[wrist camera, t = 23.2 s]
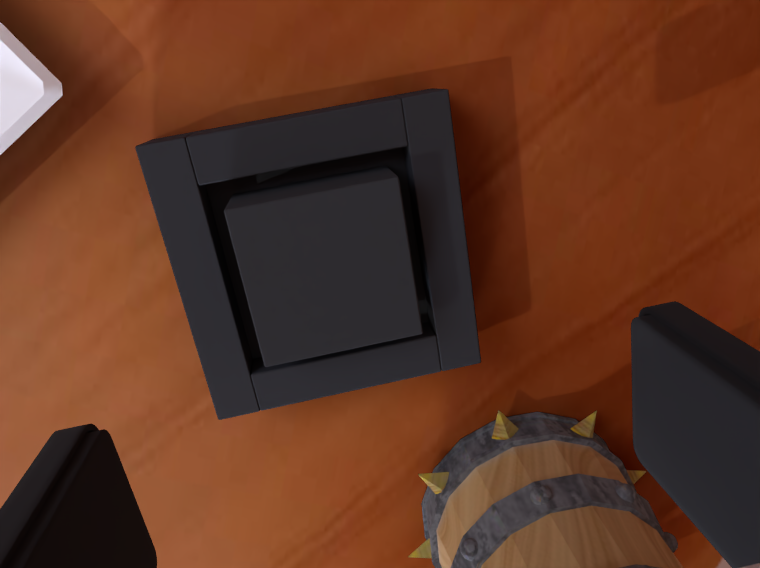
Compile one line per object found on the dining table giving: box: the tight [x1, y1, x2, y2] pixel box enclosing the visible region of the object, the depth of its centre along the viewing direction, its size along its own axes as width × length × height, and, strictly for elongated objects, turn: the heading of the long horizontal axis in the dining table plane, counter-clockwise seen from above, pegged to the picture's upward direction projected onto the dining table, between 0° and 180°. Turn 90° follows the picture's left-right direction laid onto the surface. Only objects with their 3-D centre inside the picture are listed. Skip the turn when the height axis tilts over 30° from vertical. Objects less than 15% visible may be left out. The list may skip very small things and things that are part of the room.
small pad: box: [224, 165, 423, 367], centre depth 22 cm, size 6×6×3 cm
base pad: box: [135, 89, 481, 420], centre depth 23 cm, size 11×11×2 cm
